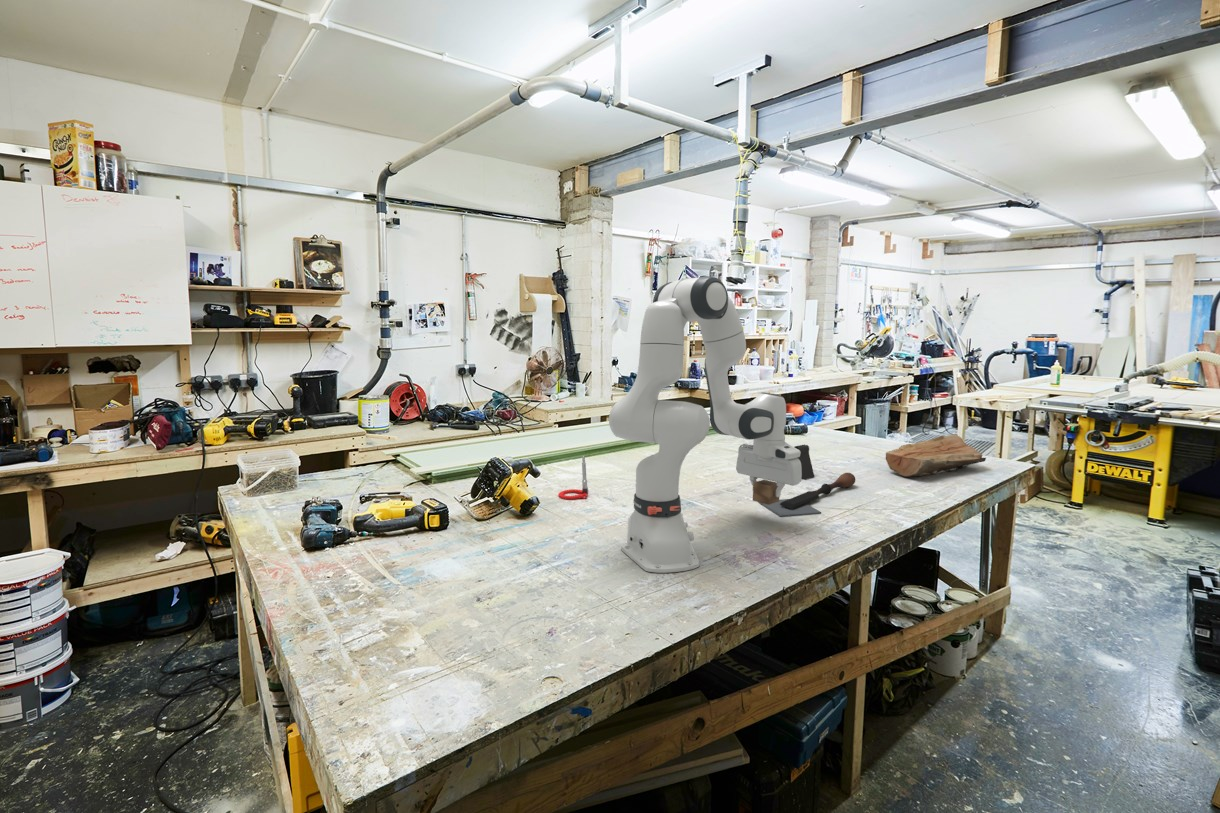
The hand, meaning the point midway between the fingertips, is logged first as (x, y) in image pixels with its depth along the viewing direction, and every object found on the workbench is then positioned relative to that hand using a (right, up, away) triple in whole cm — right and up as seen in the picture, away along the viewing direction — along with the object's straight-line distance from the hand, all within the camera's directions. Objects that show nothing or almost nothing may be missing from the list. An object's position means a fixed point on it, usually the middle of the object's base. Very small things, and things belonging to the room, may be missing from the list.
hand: (766, 493), depth 167 cm
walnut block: (0, -2, 0) cm, 2 cm away
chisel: (+25, -5, +25) cm, 36 cm away
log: (+83, -1, +57) cm, 101 cm away
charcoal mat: (+11, -7, +13) cm, 18 cm away
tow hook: (-59, -5, +24) cm, 64 cm away
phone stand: (+27, -1, +50) cm, 57 cm away
